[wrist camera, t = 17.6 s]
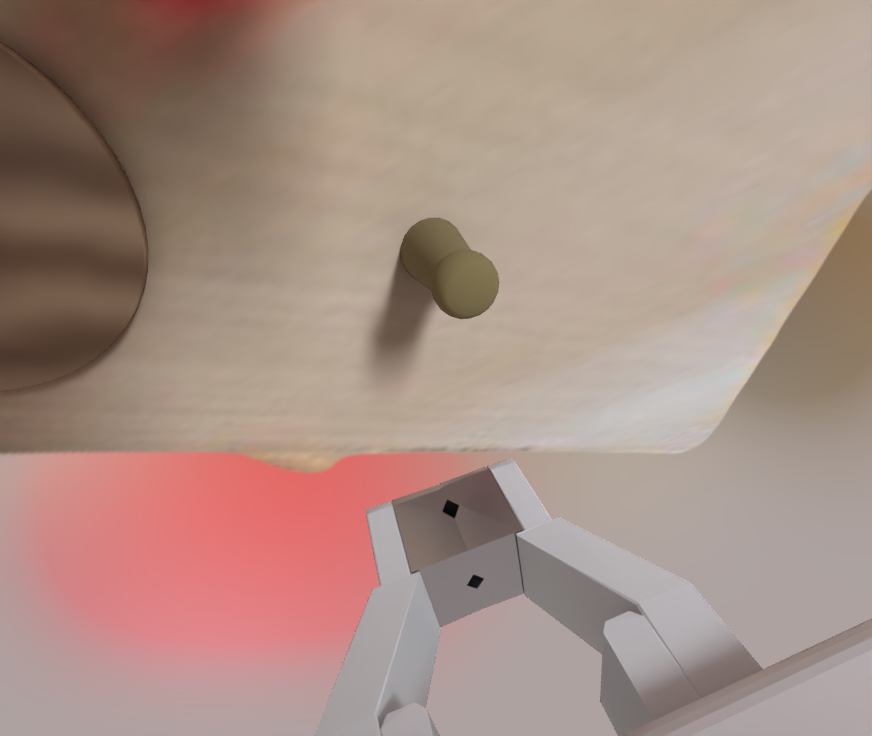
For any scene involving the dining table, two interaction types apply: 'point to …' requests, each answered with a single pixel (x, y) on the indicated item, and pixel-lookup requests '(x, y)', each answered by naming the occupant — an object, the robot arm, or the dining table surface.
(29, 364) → the lazy susan
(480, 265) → the olive pawn
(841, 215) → the dining table surface
